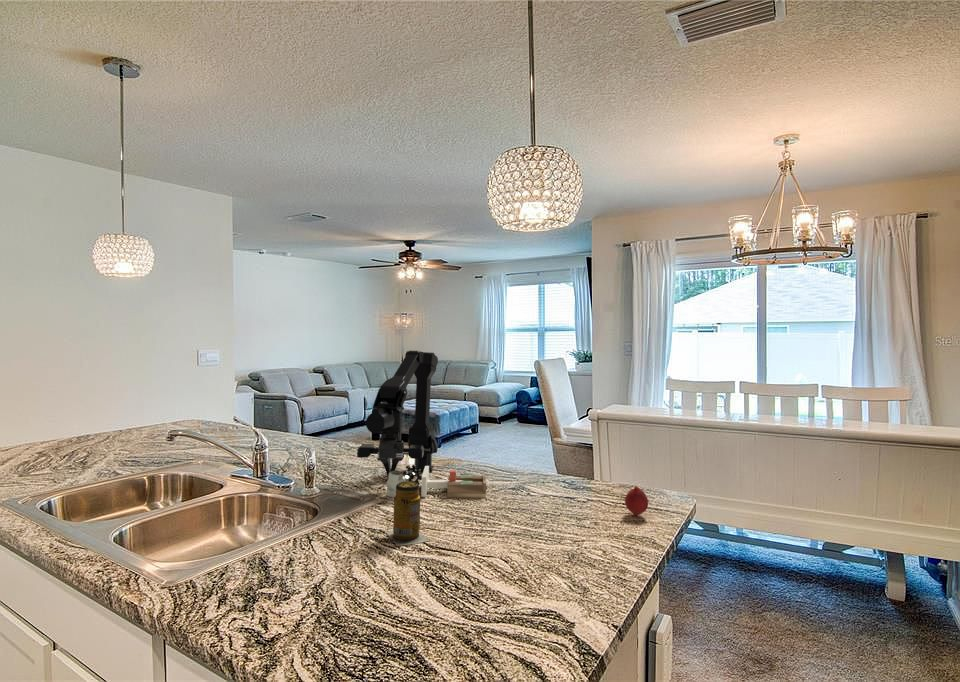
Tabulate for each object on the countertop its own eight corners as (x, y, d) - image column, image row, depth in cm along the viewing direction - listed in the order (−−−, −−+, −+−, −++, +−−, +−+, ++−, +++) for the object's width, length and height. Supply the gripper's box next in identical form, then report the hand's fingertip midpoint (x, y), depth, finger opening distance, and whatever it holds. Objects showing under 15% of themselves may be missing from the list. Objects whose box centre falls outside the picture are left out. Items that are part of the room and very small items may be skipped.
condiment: (416, 528, 123) (416, 478, 123) (428, 541, 115) (429, 488, 115) (386, 533, 120) (387, 482, 119) (396, 547, 112) (397, 492, 112)
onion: (651, 515, 134) (652, 485, 134) (641, 521, 130) (642, 490, 130) (630, 510, 138) (631, 480, 138) (620, 515, 134) (621, 485, 134)
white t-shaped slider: (424, 484, 156) (425, 465, 156) (462, 484, 157) (463, 465, 157) (421, 496, 144) (421, 476, 144) (462, 497, 145) (462, 477, 145)
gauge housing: (448, 486, 156) (448, 473, 156) (484, 486, 156) (484, 473, 156) (447, 497, 146) (447, 483, 146) (485, 497, 146) (486, 483, 146)
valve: (398, 500, 143) (421, 488, 153) (401, 478, 142) (424, 467, 153) (378, 493, 145) (403, 482, 156) (382, 471, 145) (405, 461, 156)
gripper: (353, 432, 141) (352, 488, 142) (421, 433, 142) (419, 489, 142) (361, 424, 153) (360, 476, 153) (424, 426, 153) (423, 478, 153)
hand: (390, 480), depth 150 cm, fingers closed
